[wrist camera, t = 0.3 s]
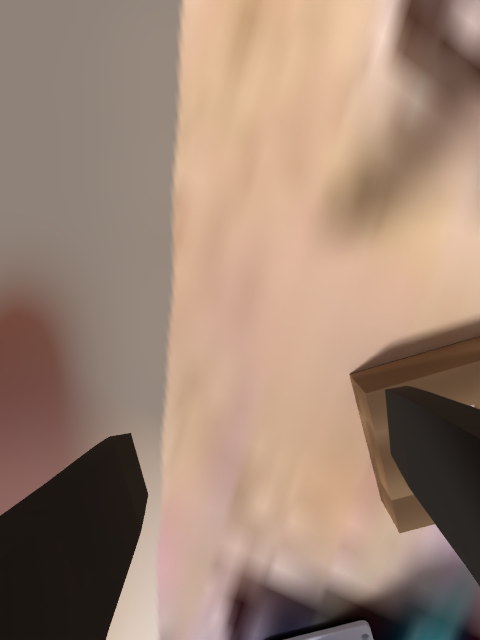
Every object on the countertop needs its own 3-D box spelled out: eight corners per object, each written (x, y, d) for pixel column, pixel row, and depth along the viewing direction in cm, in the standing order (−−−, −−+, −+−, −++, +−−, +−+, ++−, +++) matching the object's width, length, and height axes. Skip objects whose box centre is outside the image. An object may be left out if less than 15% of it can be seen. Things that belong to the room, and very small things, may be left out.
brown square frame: (522, 462, 21) (559, 491, 19) (381, 500, 22) (399, 533, 19) (504, 329, 19) (543, 342, 17) (349, 374, 20) (365, 393, 17)
